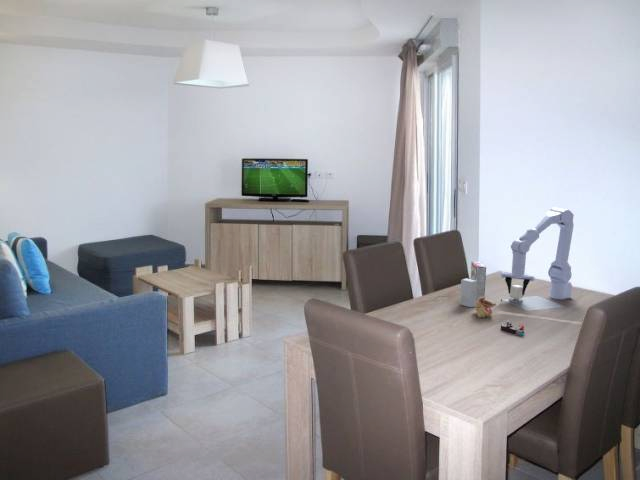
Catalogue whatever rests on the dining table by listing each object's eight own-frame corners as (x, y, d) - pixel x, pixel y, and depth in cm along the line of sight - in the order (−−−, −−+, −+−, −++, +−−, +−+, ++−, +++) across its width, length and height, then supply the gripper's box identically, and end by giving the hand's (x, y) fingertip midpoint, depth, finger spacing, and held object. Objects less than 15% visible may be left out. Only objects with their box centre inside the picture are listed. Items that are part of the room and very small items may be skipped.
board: (537, 297, 297) (537, 295, 297) (565, 309, 279) (565, 306, 279) (500, 301, 290) (500, 299, 290) (526, 313, 272) (526, 310, 272)
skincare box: (476, 306, 281) (478, 280, 279) (470, 307, 279) (472, 282, 276) (465, 303, 286) (467, 277, 284) (459, 304, 283) (461, 279, 281)
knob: (517, 294, 290) (518, 284, 289) (525, 298, 285) (525, 287, 284) (507, 295, 288) (508, 285, 287) (514, 299, 283) (515, 288, 282)
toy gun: (521, 338, 240) (522, 326, 240) (496, 330, 250) (497, 318, 249) (536, 334, 246) (537, 322, 245) (512, 325, 256) (512, 314, 255)
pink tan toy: (489, 322, 260) (473, 305, 261) (477, 326, 269) (462, 310, 270) (501, 308, 264) (486, 291, 264) (490, 312, 273) (475, 296, 274)
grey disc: (517, 298, 291) (517, 290, 291) (525, 302, 285) (526, 294, 285) (505, 299, 289) (506, 291, 288) (514, 303, 283) (515, 295, 282)
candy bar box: (468, 293, 302) (471, 261, 299) (479, 294, 302) (481, 261, 299) (474, 300, 291) (476, 266, 288) (484, 300, 291) (486, 266, 288)
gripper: (501, 265, 284) (498, 293, 286) (534, 269, 277) (531, 298, 280) (503, 262, 290) (501, 290, 292) (535, 266, 284) (533, 294, 286)
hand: (516, 293), depth 287 cm, fingers closed on knob, 5 cm apart
